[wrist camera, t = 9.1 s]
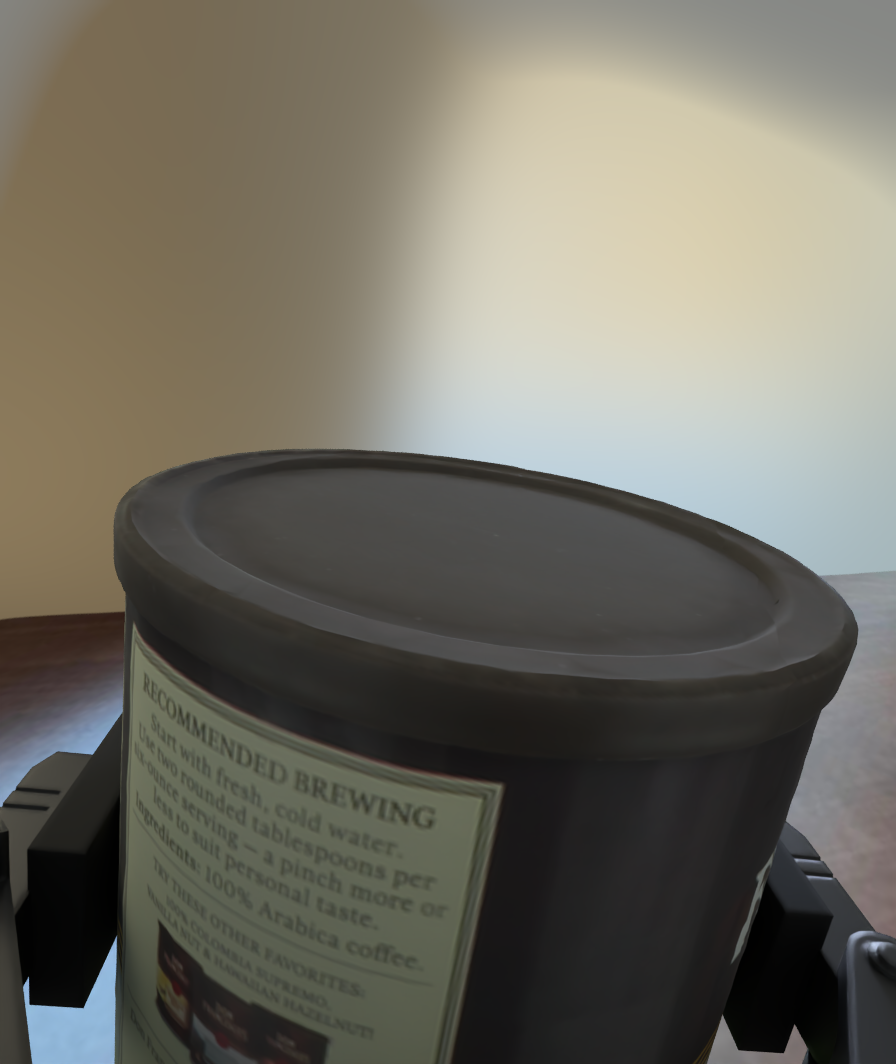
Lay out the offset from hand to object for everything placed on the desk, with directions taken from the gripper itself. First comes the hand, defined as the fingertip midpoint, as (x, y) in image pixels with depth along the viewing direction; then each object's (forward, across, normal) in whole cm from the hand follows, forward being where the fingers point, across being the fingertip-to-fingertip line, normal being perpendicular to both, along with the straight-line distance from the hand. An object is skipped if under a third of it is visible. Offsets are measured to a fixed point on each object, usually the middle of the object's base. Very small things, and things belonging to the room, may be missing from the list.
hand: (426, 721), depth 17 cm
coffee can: (-4, 0, -8) cm, 9 cm away
